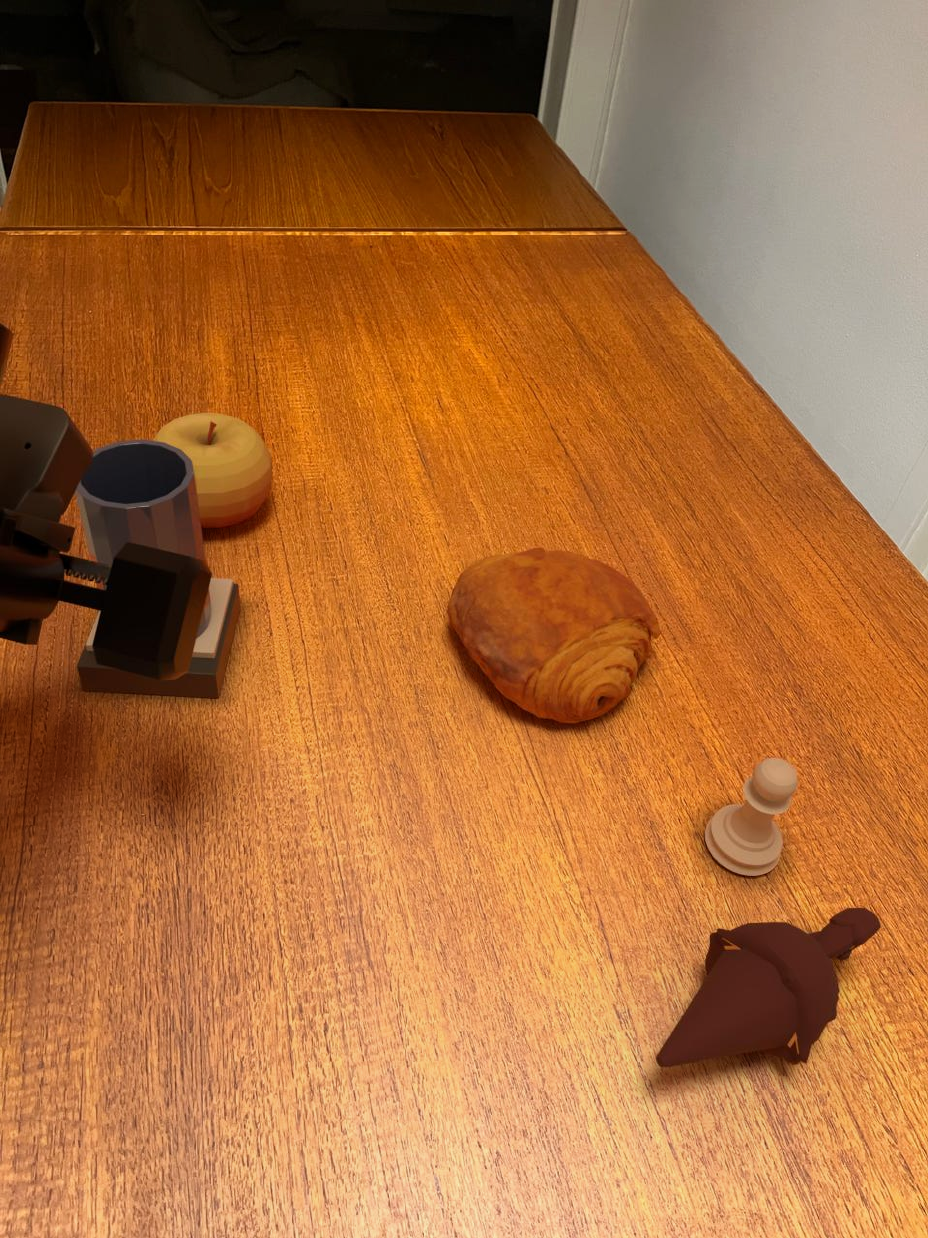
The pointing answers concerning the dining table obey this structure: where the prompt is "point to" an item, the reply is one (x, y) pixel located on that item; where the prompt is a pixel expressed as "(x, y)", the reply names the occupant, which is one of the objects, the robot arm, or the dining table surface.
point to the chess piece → (753, 821)
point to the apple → (222, 465)
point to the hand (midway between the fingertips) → (98, 591)
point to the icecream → (767, 990)
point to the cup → (141, 503)
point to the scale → (204, 662)
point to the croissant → (554, 630)
